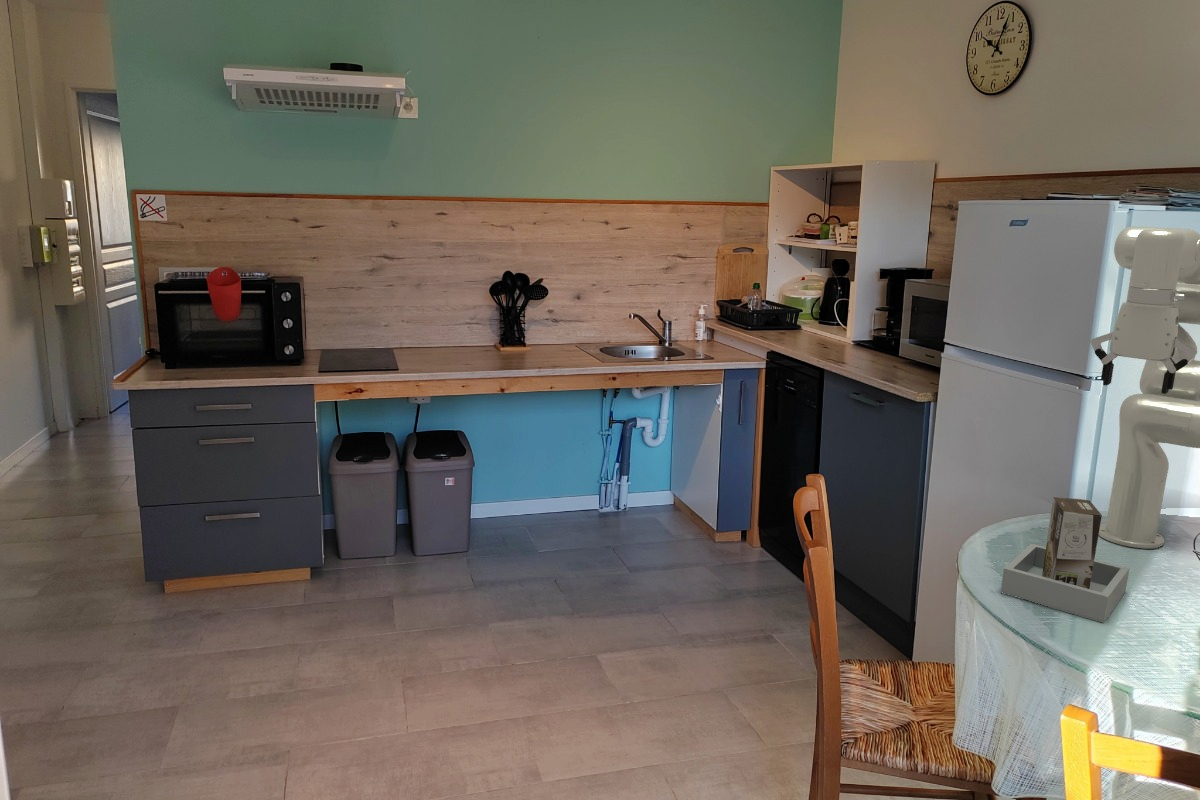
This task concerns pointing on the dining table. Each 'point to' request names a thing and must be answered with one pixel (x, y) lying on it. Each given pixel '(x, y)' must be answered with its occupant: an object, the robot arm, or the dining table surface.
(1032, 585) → the grey bin
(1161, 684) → the dining table surface
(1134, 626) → the dining table surface
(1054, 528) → the coffee box
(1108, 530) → the robot arm
